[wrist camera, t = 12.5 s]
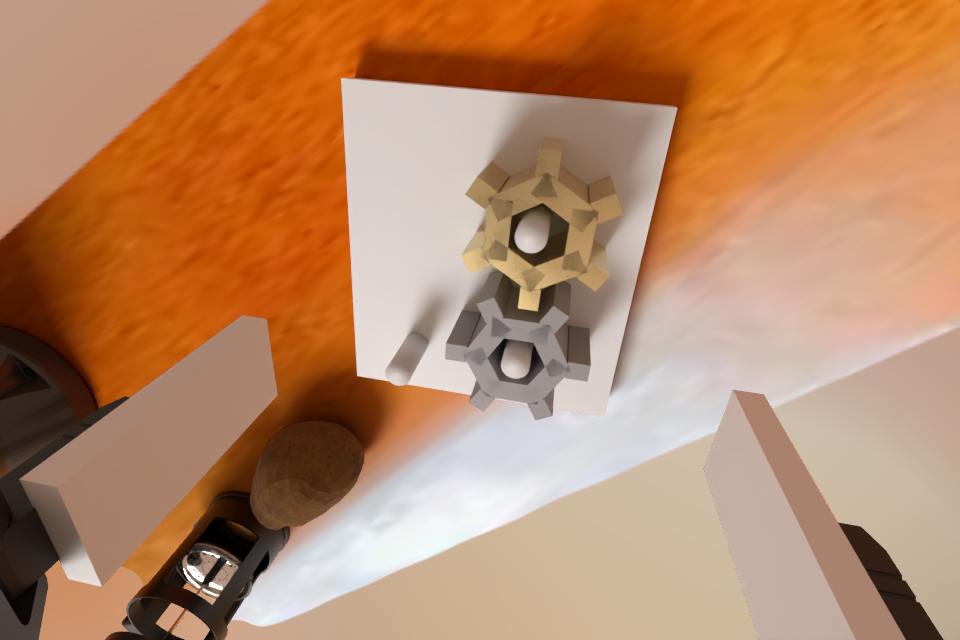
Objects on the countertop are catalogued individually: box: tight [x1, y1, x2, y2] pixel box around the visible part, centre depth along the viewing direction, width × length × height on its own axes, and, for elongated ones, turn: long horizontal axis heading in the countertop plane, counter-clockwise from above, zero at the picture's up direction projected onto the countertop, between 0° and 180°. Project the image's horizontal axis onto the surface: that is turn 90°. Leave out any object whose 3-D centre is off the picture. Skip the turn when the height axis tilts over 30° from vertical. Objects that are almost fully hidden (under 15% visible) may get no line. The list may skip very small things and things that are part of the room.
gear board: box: [341, 78, 677, 420], centre depth 33 cm, size 20×22×8 cm
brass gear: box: [461, 137, 623, 311], centre depth 30 cm, size 9×9×5 cm
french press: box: [105, 491, 289, 640], centre depth 45 cm, size 12×9×23 cm
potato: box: [250, 421, 364, 530], centre depth 44 cm, size 8×12×9 cm
